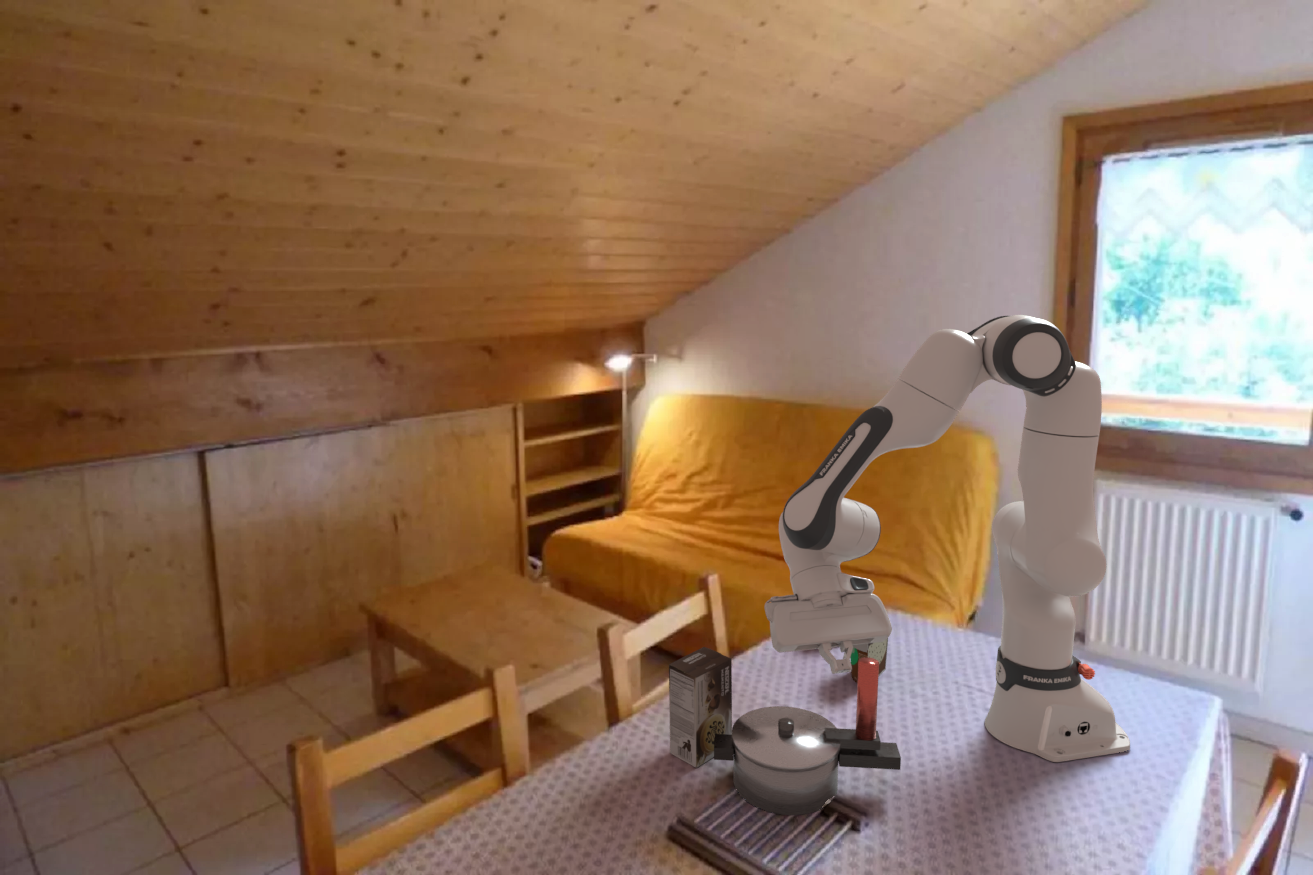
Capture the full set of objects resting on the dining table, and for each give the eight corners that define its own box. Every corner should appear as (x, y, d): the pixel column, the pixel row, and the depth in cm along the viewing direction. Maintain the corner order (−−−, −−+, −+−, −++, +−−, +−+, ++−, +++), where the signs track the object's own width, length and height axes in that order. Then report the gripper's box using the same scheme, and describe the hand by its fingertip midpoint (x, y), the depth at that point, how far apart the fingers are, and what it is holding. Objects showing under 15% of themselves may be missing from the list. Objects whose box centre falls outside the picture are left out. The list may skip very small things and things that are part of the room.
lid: (730, 767, 120) (730, 682, 117) (733, 709, 136) (734, 633, 134) (887, 777, 117) (891, 689, 115) (871, 716, 134) (874, 638, 131)
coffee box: (704, 732, 143) (704, 645, 140) (733, 746, 139) (733, 657, 135) (667, 753, 137) (667, 663, 134) (696, 769, 132) (696, 676, 129)
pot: (712, 810, 122) (712, 767, 121) (716, 749, 138) (716, 711, 136) (906, 822, 119) (908, 778, 117) (888, 758, 134) (890, 719, 133)
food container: (859, 658, 170) (860, 613, 168) (888, 666, 166) (890, 620, 164) (834, 682, 160) (836, 634, 158) (865, 691, 156) (867, 642, 154)
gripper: (766, 590, 136) (786, 672, 128) (881, 579, 140) (907, 658, 132) (757, 605, 141) (776, 685, 133) (868, 594, 145) (892, 671, 137)
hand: (842, 672), depth 133 cm, fingers closed
